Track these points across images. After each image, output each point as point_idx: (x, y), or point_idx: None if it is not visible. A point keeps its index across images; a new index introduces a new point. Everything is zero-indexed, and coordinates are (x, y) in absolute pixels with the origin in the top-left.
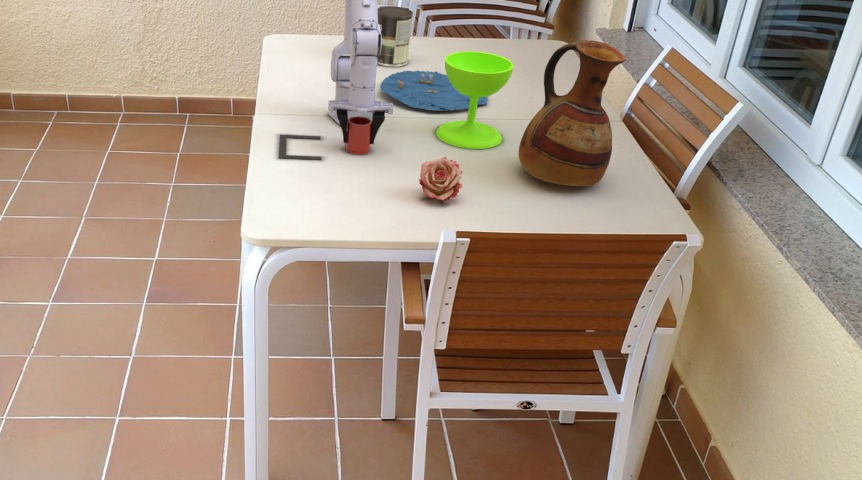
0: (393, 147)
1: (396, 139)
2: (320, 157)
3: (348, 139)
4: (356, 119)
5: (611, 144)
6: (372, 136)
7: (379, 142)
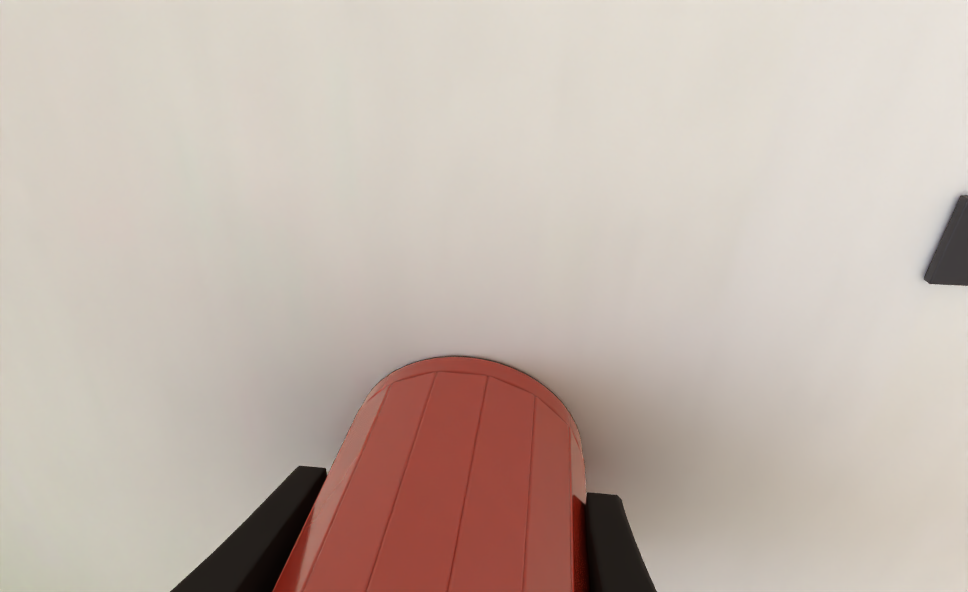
0: (179, 482)
1: None
2: (956, 255)
3: (572, 521)
4: None
5: None
6: (265, 538)
7: None
